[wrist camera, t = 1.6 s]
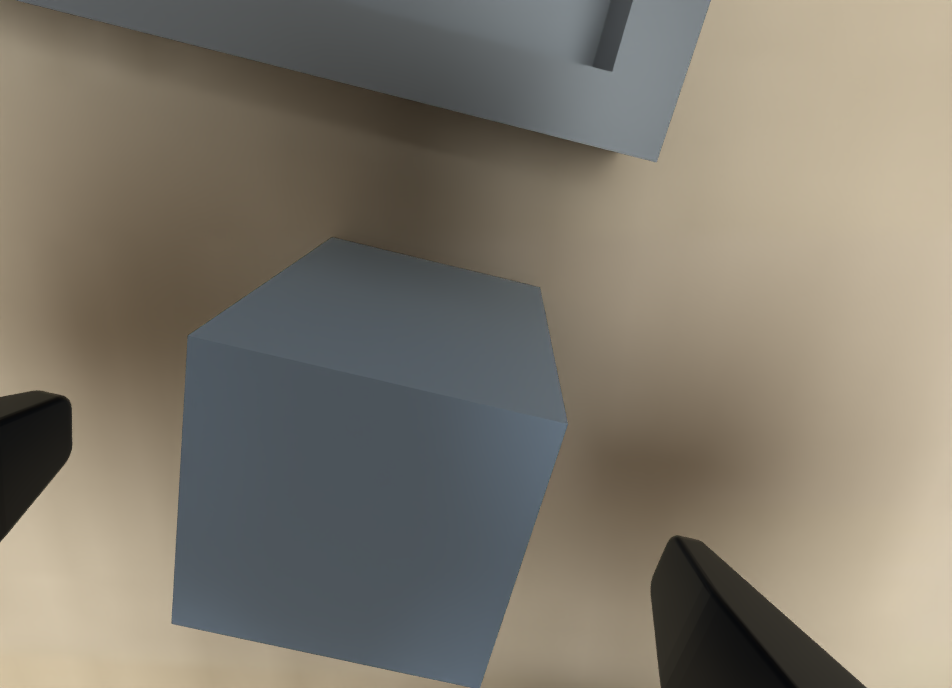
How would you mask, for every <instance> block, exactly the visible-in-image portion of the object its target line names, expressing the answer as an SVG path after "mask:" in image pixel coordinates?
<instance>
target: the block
mask: <svg viewBox="0 0 952 688" xmlns="http://www.w3.org/2000/svg"><path fill="white" fill-rule="evenodd" d="M567 425H568V422H567V417H566V412H565V407H564V402H563V397H562V393H561V388H560V383H559V378H558V373H557V368H556V363H555V358H554V353H553V348H552V344H551V339H550V334H549V329H548V324H547V319H546V314H545V309H544V304H543V299H542V295H541V290H540V287H536V286H532V285H528V284H524V283H520V282H516V281H512V280H507V279H503V278H499V277H495V276H491V275H487V274H483V273H478V272H474V271H470V270H466V269H462V268H458V267H454V266H449V265H445V264H441V263H437V262H433V261H429V260H425V259H421V258H416V257H412V256H408V255H404V254H400V253H396V252H392V251H387V250H383V249H379V248H375V247H371V246H367V245H363V244H358V243H354V242H350V241H346V240H342V239H338V238H334V237H332V238H330V239H329V240H327V241H326V242H324V243H323V244H321V245H320V246H318V247H317V248H316V249H314V250H313V251H311V252H310V253H308V254H307V255H305V256H304V257H302V258H301V259H299V260H298V261H296V262H295V263H294V264H292V265H291V266H289V267H288V268H286V269H285V270H283V271H282V272H280V273H279V274H277V275H276V276H274V277H273V278H272V279H270V280H269V281H267V282H266V283H264V284H263V285H261V286H260V287H258V288H257V289H255V290H254V291H252V292H251V293H250V294H248V295H247V296H245V297H244V298H242V299H241V300H239V301H238V302H236V303H235V304H233V305H232V306H230V307H229V308H228V309H226V310H225V311H223V312H222V313H220V314H219V315H217V316H216V317H214V318H213V319H211V320H210V321H208V322H207V323H206V324H204V325H203V326H201V327H200V328H198V329H197V330H195V331H194V332H192V333H191V334H189V335H188V341H187V358H186V376H185V394H184V411H183V429H182V447H181V464H180V482H179V500H178V518H177V535H176V553H175V571H174V588H173V606H172V624H175V625H180V626H184V627H189V628H194V629H198V630H203V631H208V632H213V633H217V634H222V635H227V636H231V637H236V638H241V639H245V640H250V641H255V642H260V643H264V644H269V645H274V646H278V647H283V648H288V649H292V650H297V651H302V652H306V653H311V654H316V655H321V656H325V657H330V658H335V659H339V660H344V661H349V662H353V663H358V664H363V665H368V666H372V667H377V668H382V669H386V670H391V671H396V672H400V673H405V674H410V675H414V676H419V677H424V678H429V679H433V680H438V681H443V682H447V683H452V684H457V685H461V686H466V687H471V688H480V686H481V683H482V680H483V677H484V674H485V671H486V668H487V665H488V662H489V659H490V656H491V653H492V650H493V647H494V644H495V641H496V638H497V635H498V632H499V629H500V626H501V623H502V620H503V617H504V614H505V611H506V608H507V605H508V602H509V599H510V596H511V593H512V590H513V587H514V584H515V581H516V578H517V575H518V572H519V569H520V566H521V563H522V560H523V557H524V554H525V551H526V548H527V545H528V542H529V539H530V536H531V533H532V530H533V527H534V524H535V521H536V518H537V515H538V512H539V509H540V506H541V503H542V500H543V497H544V494H545V491H546V488H547V485H548V482H549V479H550V476H551V473H552V470H553V467H554V464H555V461H556V458H557V455H558V452H559V449H560V446H561V443H562V440H563V437H564V434H565V431H566V428H567Z"/></svg>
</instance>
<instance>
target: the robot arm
mask: <svg viewBox="0 0 952 688" xmlns="http://www.w3.org/2000/svg"><path fill="white" fill-rule="evenodd" d="M71 450H72V407H71V403H70V401H69V399H68V398H66V397H65V396H62V395H58V394H53V393H49V392H44V391H37V390H36V391H30V392H24V393H19V394H14V395H8V396H3V397H0V542H1V541H2V540H3V538H4V537H5V536H6V535H7V534H8V533H9V531H10V530H11V529H12V528H13V527H14V525H15V524H16V523H17V522H18V520H19V519H20V518H21V517H22V516H23V514H24V513H25V512H26V511H27V509H28V508H29V507H30V506H31V505H32V503H33V502H34V501H35V500H36V498H37V497H38V496H39V495H40V494H41V492H42V491H43V490H44V489H45V488H46V486H47V485H48V484H49V483H50V481H51V480H52V479H53V478H54V477H55V475H56V474H57V473H58V472H59V470H60V469H61V468H62V467H63V466H64V464H65V463H66V461H67V460H68V458H69V456H70V453H71ZM651 602H652V611H653V621H654V630H655V639H656V649H657V658H658V667H659V677H660V684H661V688H867V687H865V686H864V685H863V684H862V683H861V682H860V681H859V680H858V679H856V678H855V677H854V676H853V675H852V674H851V673H850V672H848V671H847V670H846V669H845V668H844V667H843V666H842V665H841V664H839V663H838V662H837V661H836V660H835V659H834V658H833V657H832V656H830V655H829V654H828V653H827V652H826V651H825V650H824V649H822V648H821V647H820V646H819V645H818V644H817V643H816V642H815V641H813V640H812V639H811V638H810V637H809V636H808V635H807V634H806V633H804V632H803V631H802V630H801V629H800V628H799V627H798V626H796V625H795V624H794V623H793V622H792V621H791V620H790V619H789V618H787V617H786V616H785V615H784V614H783V613H782V612H781V611H780V610H778V609H777V608H776V607H775V606H774V605H773V604H772V603H771V602H769V601H768V600H767V599H766V598H765V597H764V596H763V595H761V594H760V593H759V592H758V591H757V590H756V589H755V588H754V587H752V586H751V585H750V584H749V583H748V582H747V581H746V580H745V579H743V578H742V577H741V576H740V575H739V574H738V573H737V572H736V571H734V570H733V569H732V568H731V567H730V566H729V565H728V564H726V563H725V562H724V561H723V560H722V559H721V558H720V557H719V556H717V555H716V554H715V553H714V552H713V551H712V550H711V549H710V548H708V547H707V546H706V545H705V544H704V543H703V542H701V541H699V540H696V539H692V538H687V537H682V536H678V535H676V536H673V537H671V538H670V540H669V541H668V543H667V545H666V547H665V549H664V552H663V554H662V556H661V558H660V561H659V563H658V565H657V568H656V570H655V572H654V574H653V577H652V581H651Z"/></svg>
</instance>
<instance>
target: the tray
mask: <svg viewBox="0 0 952 688" xmlns="http://www.w3.org/2000/svg"><path fill="white" fill-rule="evenodd" d="M17 1H21V2H25V3H29V4H33V5H37V6H41V7H45V8H49V9H52V10H56V11H60V12H64V13H68V14H72V15H76V16H80V17H84V18H88V19H92V20H96V21H100V22H104V23H108V24H112V25H116V26H120V27H124V28H128V29H131V30H135V31H139V32H143V33H147V34H151V35H155V36H159V37H163V38H167V39H171V40H175V41H179V42H183V43H187V44H191V45H195V46H199V47H203V48H207V49H211V50H214V51H218V52H222V53H226V54H230V55H234V56H238V57H242V58H246V59H250V60H254V61H258V62H262V63H266V64H270V65H274V66H278V67H282V68H286V69H290V70H293V71H297V72H301V73H305V74H309V75H313V76H317V77H321V78H325V79H329V80H333V81H337V82H341V83H345V84H349V85H353V86H357V87H361V88H365V89H369V90H372V91H376V92H380V93H384V94H388V95H392V96H396V97H400V98H404V99H408V100H412V101H416V102H420V103H424V104H428V105H432V106H436V107H440V108H444V109H448V110H451V111H455V112H459V113H463V114H467V115H471V116H475V117H479V118H483V119H487V120H491V121H495V122H499V123H503V124H507V125H511V126H515V127H519V128H523V129H527V130H531V131H534V132H538V133H542V134H546V135H550V136H554V137H558V138H562V139H566V140H570V141H574V142H578V143H582V144H586V145H590V146H594V147H598V148H602V149H606V150H610V151H613V152H617V153H621V154H625V155H629V156H633V157H637V158H641V159H645V160H649V161H653V162H657V160H658V157H659V154H660V151H661V148H662V145H663V142H664V139H665V136H666V133H667V130H668V127H669V124H670V121H671V118H672V115H673V112H674V109H675V106H676V103H677V100H678V97H679V94H680V91H681V88H682V85H683V82H684V79H685V76H686V73H687V70H688V67H689V64H690V61H691V58H692V55H693V52H694V49H695V46H696V43H697V40H698V37H699V34H700V31H701V28H702V25H703V22H704V19H705V16H706V13H707V10H708V7H709V4H710V1H711V0H17Z"/></svg>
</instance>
